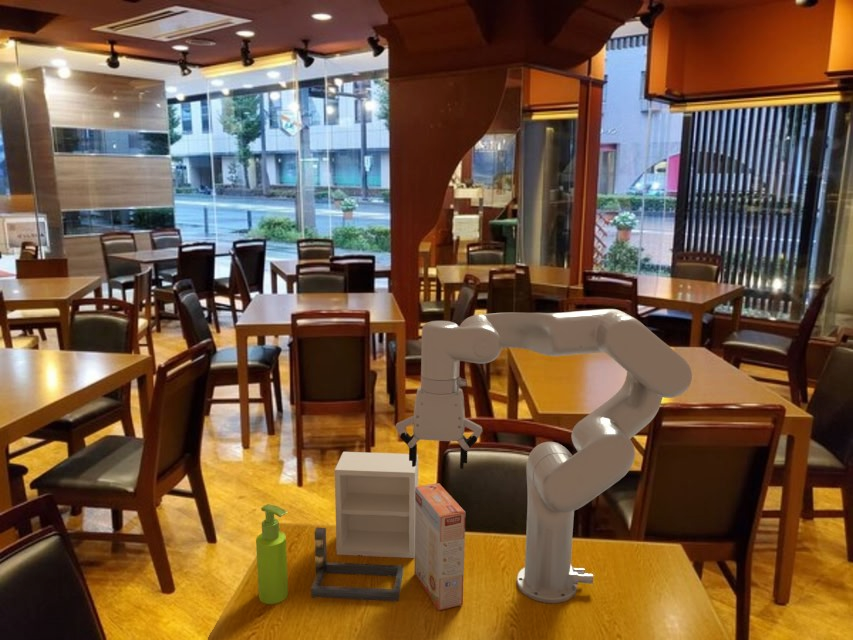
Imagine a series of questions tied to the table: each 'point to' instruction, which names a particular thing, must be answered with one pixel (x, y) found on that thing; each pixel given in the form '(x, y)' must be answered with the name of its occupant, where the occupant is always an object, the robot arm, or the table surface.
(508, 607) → the table surface
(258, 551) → the soap dispenser
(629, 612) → the table surface
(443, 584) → the cracker box
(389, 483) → the cabinet
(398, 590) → the dark gray rectangular frame
